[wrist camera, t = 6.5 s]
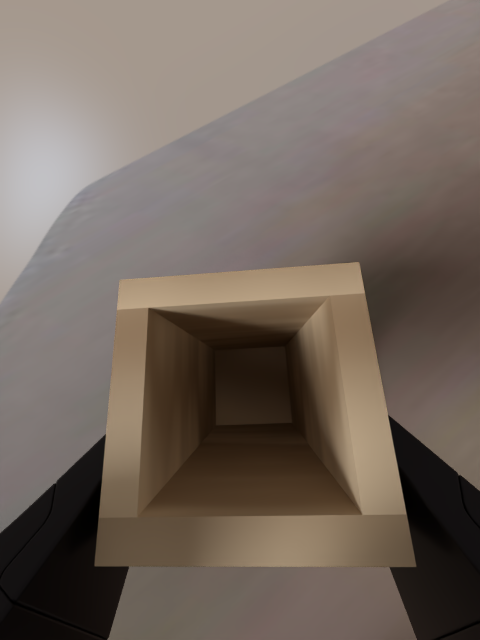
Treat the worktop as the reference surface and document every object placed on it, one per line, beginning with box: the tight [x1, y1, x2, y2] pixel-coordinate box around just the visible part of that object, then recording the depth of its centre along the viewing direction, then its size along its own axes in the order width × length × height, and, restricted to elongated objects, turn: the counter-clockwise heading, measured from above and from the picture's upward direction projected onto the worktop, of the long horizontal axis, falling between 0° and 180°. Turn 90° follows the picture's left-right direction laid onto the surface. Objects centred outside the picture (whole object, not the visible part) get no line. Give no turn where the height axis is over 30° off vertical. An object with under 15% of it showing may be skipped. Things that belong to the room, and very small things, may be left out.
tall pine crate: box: [95, 262, 416, 567], centre depth 10 cm, size 6×6×10 cm
